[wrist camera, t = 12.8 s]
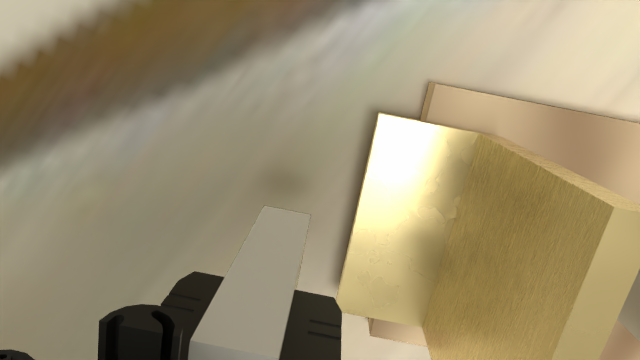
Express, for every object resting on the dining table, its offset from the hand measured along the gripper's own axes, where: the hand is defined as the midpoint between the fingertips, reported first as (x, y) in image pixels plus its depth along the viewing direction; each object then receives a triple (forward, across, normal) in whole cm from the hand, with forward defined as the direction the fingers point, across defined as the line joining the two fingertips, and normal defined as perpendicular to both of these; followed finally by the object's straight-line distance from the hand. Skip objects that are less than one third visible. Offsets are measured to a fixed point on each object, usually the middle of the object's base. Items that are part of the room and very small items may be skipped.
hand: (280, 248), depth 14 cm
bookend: (+5, +5, 0) cm, 7 cm away
